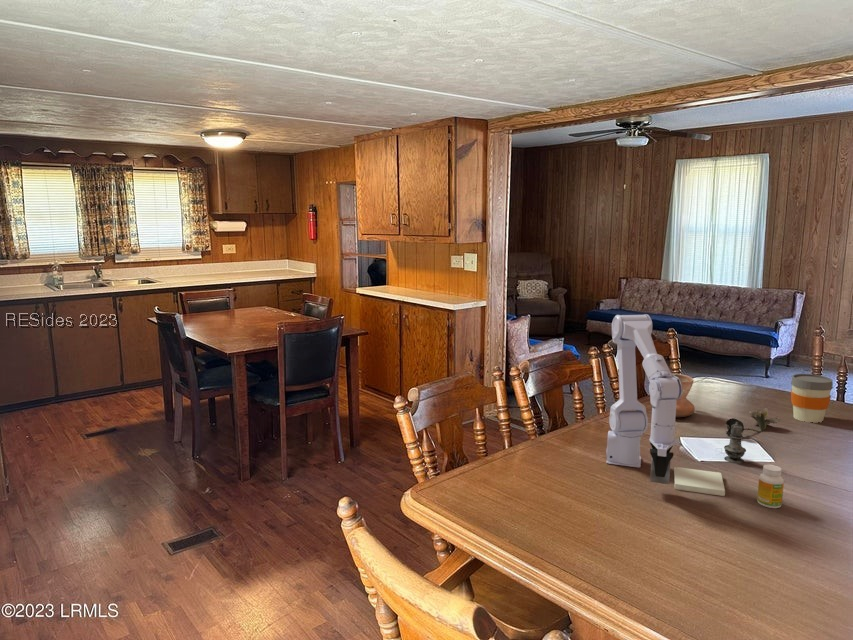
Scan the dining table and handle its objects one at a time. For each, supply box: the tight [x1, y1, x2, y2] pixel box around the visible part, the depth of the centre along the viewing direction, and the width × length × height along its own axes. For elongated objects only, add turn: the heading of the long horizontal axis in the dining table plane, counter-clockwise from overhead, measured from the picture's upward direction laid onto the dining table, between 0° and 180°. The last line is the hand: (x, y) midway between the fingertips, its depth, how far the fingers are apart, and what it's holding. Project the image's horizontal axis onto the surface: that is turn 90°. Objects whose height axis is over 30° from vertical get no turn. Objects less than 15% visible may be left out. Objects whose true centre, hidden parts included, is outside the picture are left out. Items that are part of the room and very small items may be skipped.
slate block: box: [650, 457, 671, 485], centre depth 157 cm, size 4×4×6 cm
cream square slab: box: [673, 466, 726, 497], centre depth 164 cm, size 12×12×2 cm
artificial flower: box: [725, 406, 781, 438], centre depth 203 cm, size 9×22×10 cm, turn 116°
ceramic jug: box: [671, 372, 696, 418], centre depth 220 cm, size 18×14×14 cm
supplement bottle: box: [756, 464, 785, 509], centre depth 151 cm, size 5×5×10 cm
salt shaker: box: [723, 422, 747, 464], centre depth 178 cm, size 6×6×12 cm
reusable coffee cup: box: [790, 373, 834, 424], centre depth 214 cm, size 13×13×15 cm
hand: (660, 472), depth 157 cm, fingers closed on slate block, 4 cm apart
